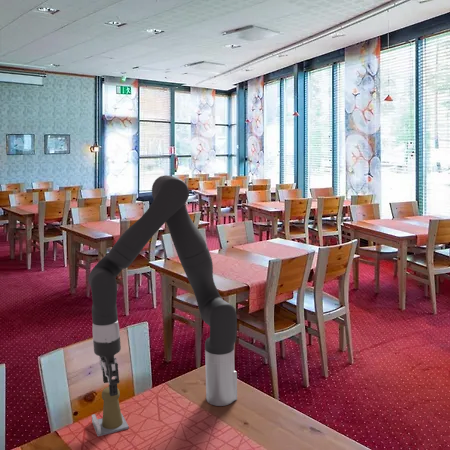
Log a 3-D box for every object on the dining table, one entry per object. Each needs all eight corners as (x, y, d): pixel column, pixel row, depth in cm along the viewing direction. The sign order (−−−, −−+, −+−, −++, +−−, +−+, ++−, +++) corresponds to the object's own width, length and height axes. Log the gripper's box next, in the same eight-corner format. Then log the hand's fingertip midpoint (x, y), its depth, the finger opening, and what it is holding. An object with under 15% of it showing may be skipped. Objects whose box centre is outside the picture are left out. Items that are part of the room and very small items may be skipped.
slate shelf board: (121, 415, 154) (121, 413, 154) (128, 428, 147) (128, 426, 147) (95, 421, 151) (95, 419, 151) (101, 435, 144) (101, 433, 143)
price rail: (95, 421, 151) (95, 414, 150) (101, 435, 144) (100, 427, 143) (92, 422, 150) (91, 414, 150) (97, 436, 143) (97, 428, 143)
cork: (125, 418, 151) (124, 384, 149) (118, 429, 145) (116, 394, 143) (107, 416, 152) (105, 382, 150) (98, 428, 146) (96, 393, 144)
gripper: (88, 330, 149) (92, 381, 152) (98, 347, 136) (102, 403, 139) (113, 325, 152) (117, 375, 155) (125, 342, 139) (129, 396, 142)
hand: (110, 388), depth 147 cm, fingers open, 8 cm apart
